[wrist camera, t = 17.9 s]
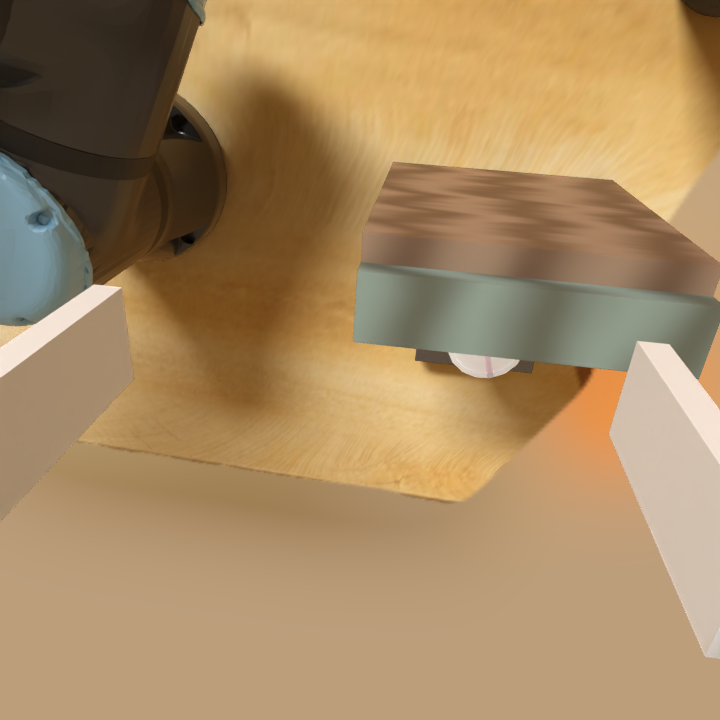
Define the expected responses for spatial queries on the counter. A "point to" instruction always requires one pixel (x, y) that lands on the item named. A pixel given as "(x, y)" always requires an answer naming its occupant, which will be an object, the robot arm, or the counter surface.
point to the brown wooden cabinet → (529, 270)
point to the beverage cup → (482, 365)
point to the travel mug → (705, 7)
